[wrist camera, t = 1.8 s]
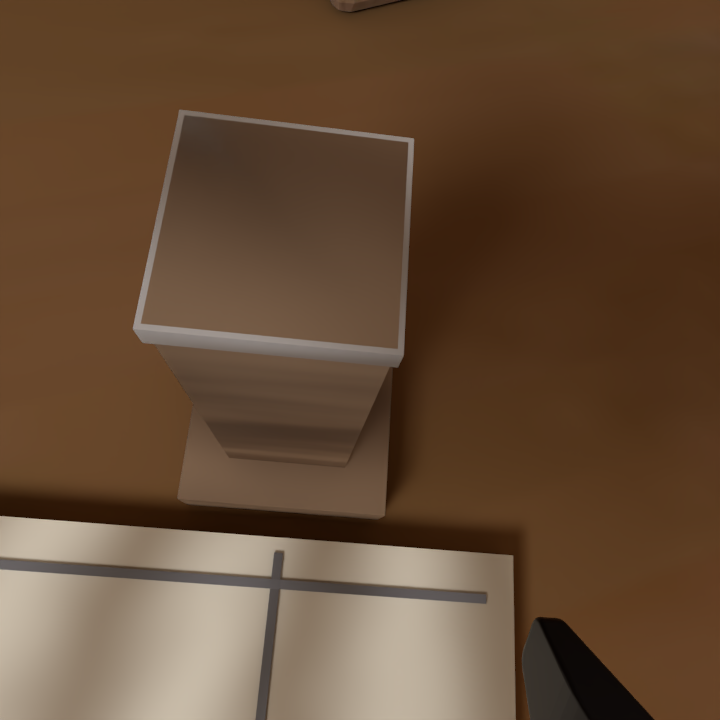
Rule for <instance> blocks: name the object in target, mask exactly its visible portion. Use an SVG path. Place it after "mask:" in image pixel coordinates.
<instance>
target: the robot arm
mask: <svg viewBox="0 0 720 720" xmlns="http://www.w3.org/2000/svg"><path fill="white" fill-rule="evenodd" d="M522 669H523V675H524V682H525V688H526V695H527V701H528V708H529V714H530V720H654V719H653V718H652V717H651V716H650V714H649V713H648V712H647V711H646V710H645V709H644V708H643V707H642V706H641V705H640V703H639V702H638V701H637V700H636V699H635V698H634V697H633V696H632V695H631V694H630V693H629V691H628V690H627V689H626V688H625V687H624V686H623V685H622V684H621V683H620V682H619V681H618V679H617V678H616V677H615V676H614V675H613V674H612V673H611V672H610V671H609V670H608V669H607V667H606V666H605V665H604V664H603V663H602V662H601V661H600V660H599V659H598V658H597V656H596V655H595V654H594V653H593V652H592V651H591V650H590V649H589V648H588V647H587V646H586V644H585V643H584V642H583V641H582V640H581V639H580V638H579V637H578V636H577V635H576V634H575V632H574V631H573V630H572V629H571V628H570V627H569V626H568V625H567V624H566V623H565V622H564V621H563V620H561V619H558V618H547V617H537V618H536V619H535V620H534V621H533V623H532V626H531V629H530V632H529V635H528V638H527V641H526V644H525V646H524V649H523V654H522Z"/></svg>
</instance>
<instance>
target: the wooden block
mask: <svg viewBox="0 0 720 720" xmlns="http://www.w3.org/2000/svg"><path fill="white" fill-rule="evenodd" d="M330 1H331V3H332V5H333V6H334V7H336V8H337V9H338V10H340V11H347V12H353V11H357V10H362V9H366V8H370V7H374V6H378V5H383V4H387V3H391V2H395V1H400V0H330Z"/></svg>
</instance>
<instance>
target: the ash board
mask: <svg viewBox="0 0 720 720" xmlns="http://www.w3.org/2000/svg"><path fill="white" fill-rule="evenodd" d="M0 720H516V704H515V641H514V577H513V555H501V554H488V553H475V552H462V551H449V550H436V549H423V548H410V547H397V546H384V545H371V544H358V543H345V542H332V541H319V540H306V539H293V538H280V537H267V536H254V535H241V534H228V533H215V532H202V531H189V530H176V529H163V528H150V527H137V526H124V525H111V524H98V523H85V522H72V521H59V520H46V519H33V518H20V517H7V516H0Z"/></svg>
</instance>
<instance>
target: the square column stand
mask: <svg viewBox="0 0 720 720" xmlns="http://www.w3.org/2000/svg"><path fill="white" fill-rule="evenodd" d="M413 152H414V138H406V137H398V136H390V135H382V134H373V133H365V132H357V131H349V130H341V129H333V128H325V127H317V126H308V125H300V124H292V123H284V122H276V121H268V120H260V119H251V118H243V117H235V116H227V115H219V114H211V113H203V112H194V111H186V110H179V115H178V119H177V124H176V129H175V133H174V138H173V143H172V147H171V152H170V157H169V162H168V166H167V171H166V176H165V180H164V185H163V190H162V194H161V199H160V204H159V208H158V213H157V218H156V222H155V227H154V232H153V237H152V241H151V246H150V251H149V255H148V260H147V265H146V269H145V274H144V279H143V283H142V288H141V293H140V298H139V302H138V307H137V312H136V316H135V321H134V326H133V330H134V331H135V333H136V334H137V336H138V337H139V338H140V340H141V341H142V343H149V344H154V345H155V346H156V348H157V349H158V351H159V352H160V354H161V355H162V357H163V358H164V360H165V361H166V363H167V364H168V366H169V367H170V369H171V371H172V372H173V374H174V375H175V377H176V378H177V380H178V381H179V383H180V384H181V386H182V387H183V389H184V390H185V392H186V393H187V395H188V396H189V398H190V399H191V401H192V402H193V408H192V414H191V419H190V425H189V431H188V437H187V443H186V449H185V455H184V461H183V467H182V473H181V479H180V485H179V491H178V496H177V499H178V500H180V501H182V502H184V503H186V504H188V505H199V506H211V507H224V508H236V509H249V510H261V511H274V512H286V513H299V514H312V515H324V516H337V517H349V518H362V519H374V520H378V519H380V518H382V517H383V516H385V506H386V488H387V469H388V451H389V432H390V414H391V395H392V376H393V367H397V368H398V366H399V364H400V362H401V360H402V358H403V356H404V340H405V320H406V299H407V278H408V257H409V236H410V215H411V194H412V173H413Z"/></svg>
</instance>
